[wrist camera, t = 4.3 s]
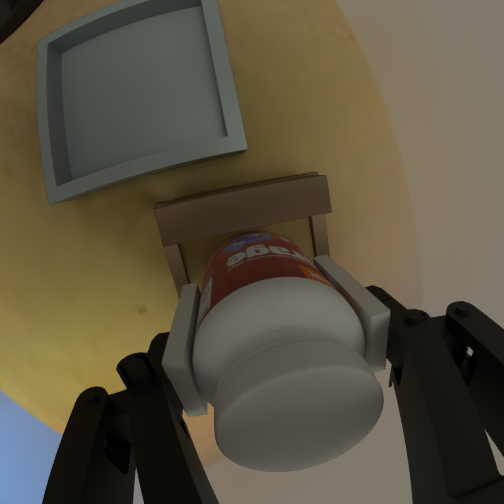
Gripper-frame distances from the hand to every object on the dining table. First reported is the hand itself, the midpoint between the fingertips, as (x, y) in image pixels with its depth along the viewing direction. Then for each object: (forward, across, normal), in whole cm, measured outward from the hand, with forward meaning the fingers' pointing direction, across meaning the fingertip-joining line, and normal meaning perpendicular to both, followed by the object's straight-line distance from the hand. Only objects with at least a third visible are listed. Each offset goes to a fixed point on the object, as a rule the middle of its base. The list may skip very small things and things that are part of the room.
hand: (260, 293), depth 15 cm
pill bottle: (+2, 0, 0) cm, 2 cm away
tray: (+7, -6, +14) cm, 17 cm away
